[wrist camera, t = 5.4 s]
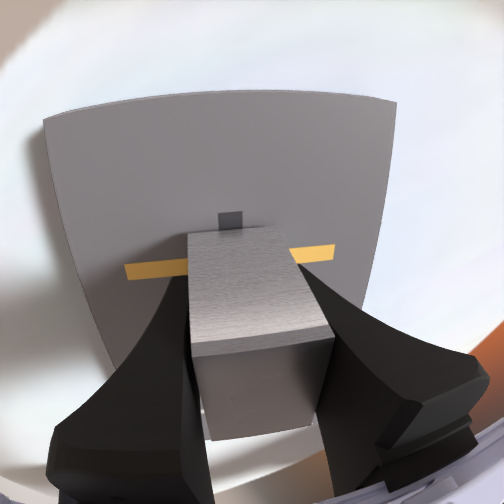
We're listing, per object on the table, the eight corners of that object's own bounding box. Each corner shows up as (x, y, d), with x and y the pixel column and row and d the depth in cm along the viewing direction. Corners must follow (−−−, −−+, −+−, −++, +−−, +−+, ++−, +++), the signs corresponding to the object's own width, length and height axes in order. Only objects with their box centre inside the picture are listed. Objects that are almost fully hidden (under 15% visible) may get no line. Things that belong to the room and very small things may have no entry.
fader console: (318, 398, 22) (326, 420, 20) (154, 419, 20) (154, 443, 18) (369, 96, 11) (397, 102, 10) (64, 111, 10) (42, 119, 8)
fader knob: (272, 314, 13) (310, 425, 9) (199, 322, 13) (211, 441, 8) (276, 225, 11) (335, 336, 7) (187, 233, 11) (191, 357, 6)
